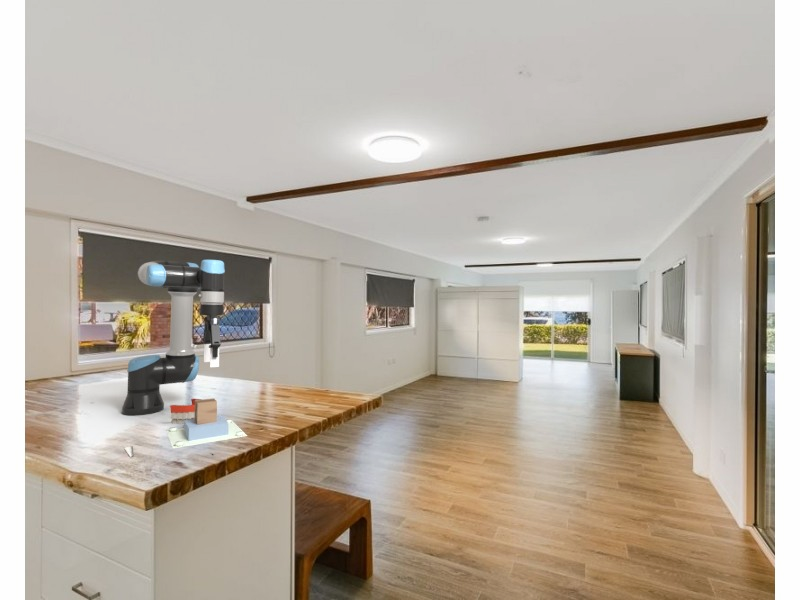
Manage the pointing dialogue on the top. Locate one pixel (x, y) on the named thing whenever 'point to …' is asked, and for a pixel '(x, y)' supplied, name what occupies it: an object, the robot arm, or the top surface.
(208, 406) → the walnut block
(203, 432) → the base brick
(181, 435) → the build plate
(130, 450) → the page
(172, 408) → the toy
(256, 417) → the top surface
